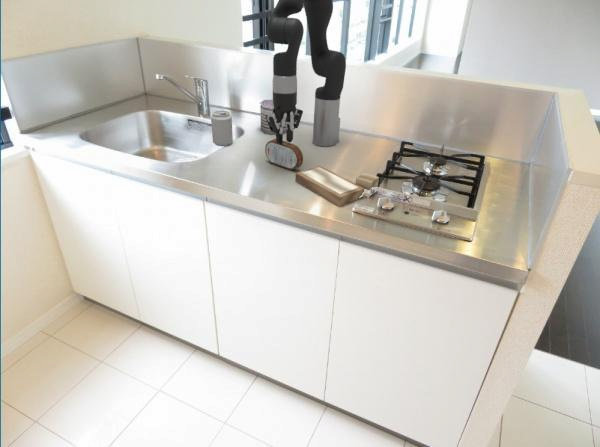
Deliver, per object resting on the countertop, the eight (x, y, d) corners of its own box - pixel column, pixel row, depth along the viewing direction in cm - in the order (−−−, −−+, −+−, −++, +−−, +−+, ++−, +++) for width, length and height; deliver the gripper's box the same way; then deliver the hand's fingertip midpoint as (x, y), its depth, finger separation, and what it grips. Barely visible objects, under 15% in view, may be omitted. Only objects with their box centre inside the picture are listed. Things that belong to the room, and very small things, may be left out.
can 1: (229, 148, 154) (227, 116, 148) (209, 145, 155) (207, 114, 149) (235, 141, 160) (234, 110, 154) (217, 139, 161) (215, 108, 155)
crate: (362, 187, 130) (364, 172, 127) (376, 192, 127) (379, 177, 125) (354, 192, 126) (356, 177, 124) (368, 197, 124) (371, 182, 121)
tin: (302, 171, 138) (304, 146, 134) (296, 173, 136) (298, 148, 132) (269, 159, 146) (270, 135, 142) (263, 161, 144) (264, 137, 140)
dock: (319, 174, 137) (319, 165, 135) (363, 197, 124) (364, 187, 122) (295, 181, 131) (295, 172, 130) (339, 206, 118) (339, 196, 116)
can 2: (280, 126, 178) (280, 98, 171) (293, 134, 169) (294, 105, 163) (255, 130, 172) (255, 100, 166) (268, 138, 164) (267, 108, 158)
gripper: (295, 83, 134) (294, 135, 143) (258, 90, 126) (260, 143, 135) (310, 88, 129) (308, 141, 138) (273, 95, 122) (274, 150, 131)
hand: (284, 142), depth 137 cm, fingers open, 3 cm apart
